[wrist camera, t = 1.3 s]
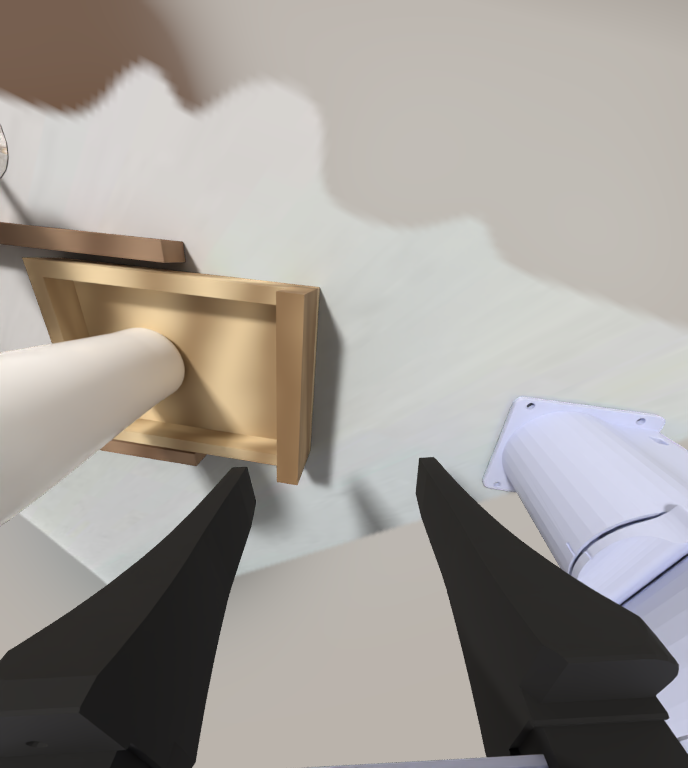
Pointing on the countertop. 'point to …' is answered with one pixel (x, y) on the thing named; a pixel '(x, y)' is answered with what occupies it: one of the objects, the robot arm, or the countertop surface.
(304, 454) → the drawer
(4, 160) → the wineglass
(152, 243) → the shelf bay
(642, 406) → the countertop surface
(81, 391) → the drinking glass
